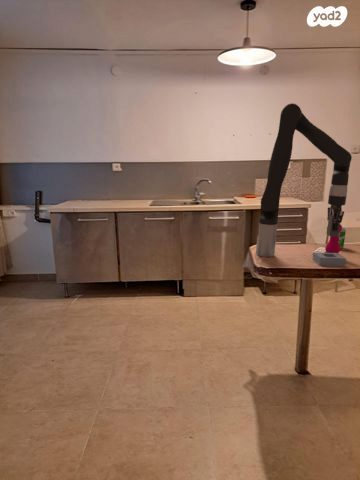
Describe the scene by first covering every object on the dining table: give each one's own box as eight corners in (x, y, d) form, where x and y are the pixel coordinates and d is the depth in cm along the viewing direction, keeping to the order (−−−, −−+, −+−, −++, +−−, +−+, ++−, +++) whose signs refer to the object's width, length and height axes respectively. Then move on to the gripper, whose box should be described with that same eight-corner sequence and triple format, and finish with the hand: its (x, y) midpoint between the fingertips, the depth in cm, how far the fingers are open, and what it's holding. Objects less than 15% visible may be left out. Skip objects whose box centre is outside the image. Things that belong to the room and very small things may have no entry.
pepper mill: (340, 259, 162) (346, 221, 157) (325, 258, 163) (331, 220, 158) (336, 255, 169) (342, 219, 164) (322, 254, 170) (327, 218, 165)
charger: (329, 236, 151) (333, 211, 148) (326, 234, 155) (329, 210, 152) (338, 236, 151) (341, 211, 148) (334, 234, 154) (338, 210, 152)
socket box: (319, 265, 152) (320, 257, 151) (312, 259, 161) (314, 251, 160) (344, 266, 151) (345, 257, 150) (336, 260, 160) (338, 252, 159)
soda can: (327, 245, 188) (329, 226, 185) (339, 246, 188) (342, 226, 185) (332, 249, 181) (335, 229, 178) (345, 249, 181) (348, 229, 178)
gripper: (324, 192, 155) (319, 226, 159) (335, 196, 141) (330, 233, 145) (339, 193, 154) (334, 227, 159) (352, 196, 141) (347, 233, 145)
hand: (332, 229), depth 152 cm, fingers closed on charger, 4 cm apart
